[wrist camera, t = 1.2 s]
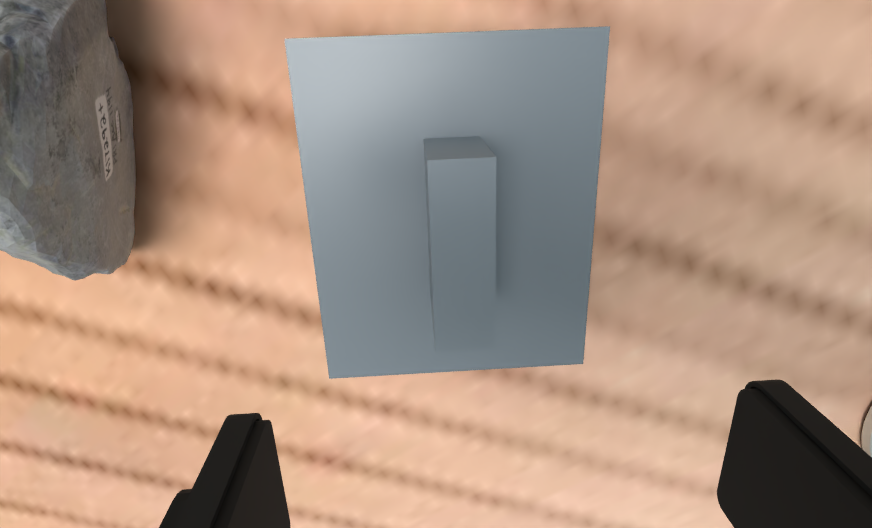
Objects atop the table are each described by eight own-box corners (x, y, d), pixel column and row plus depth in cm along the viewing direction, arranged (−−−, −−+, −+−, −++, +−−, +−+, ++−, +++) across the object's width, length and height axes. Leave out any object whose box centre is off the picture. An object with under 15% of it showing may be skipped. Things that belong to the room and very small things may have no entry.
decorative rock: (29, -65, 27) (-381, -188, 13) (167, -36, 27) (-80, -123, 14) (54, 238, 33) (-209, 378, 19) (166, 254, 33) (-6, 401, 19)
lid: (573, 346, 30) (616, 424, 24) (333, 360, 30) (313, 443, 24) (595, 27, 24) (662, 20, 18) (293, 39, 24) (251, 35, 17)
